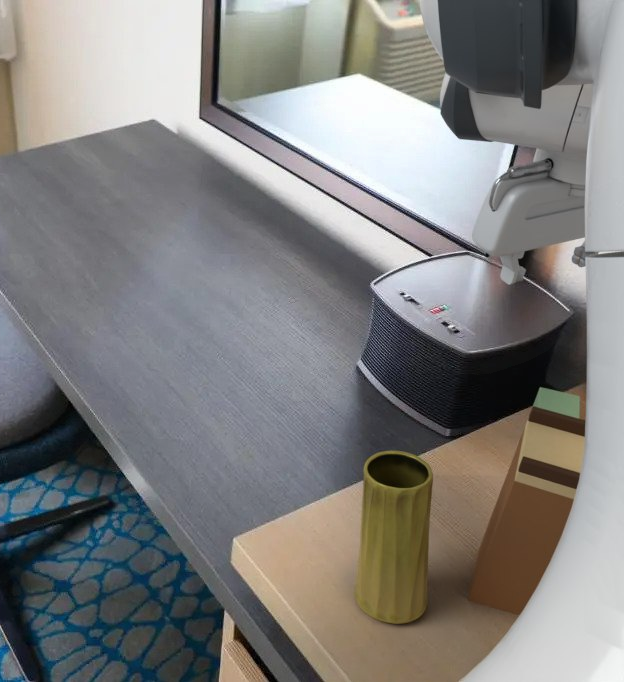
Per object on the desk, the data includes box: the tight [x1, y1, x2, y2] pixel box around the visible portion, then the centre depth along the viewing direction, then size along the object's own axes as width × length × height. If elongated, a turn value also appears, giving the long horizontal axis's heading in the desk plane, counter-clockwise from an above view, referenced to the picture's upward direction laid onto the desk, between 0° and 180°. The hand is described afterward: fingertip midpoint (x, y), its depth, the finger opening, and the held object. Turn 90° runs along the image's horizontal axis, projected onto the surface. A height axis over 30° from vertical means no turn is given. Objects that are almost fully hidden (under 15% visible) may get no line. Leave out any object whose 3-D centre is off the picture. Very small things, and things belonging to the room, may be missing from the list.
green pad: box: [532, 386, 581, 419], centre depth 85 cm, size 4×4×3 cm
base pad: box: [467, 405, 585, 616], centre depth 65 cm, size 7×5×18 cm
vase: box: [353, 450, 434, 625], centre depth 66 cm, size 6×6×14 cm
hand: (546, 272), depth 85 cm, fingers open, 8 cm apart
